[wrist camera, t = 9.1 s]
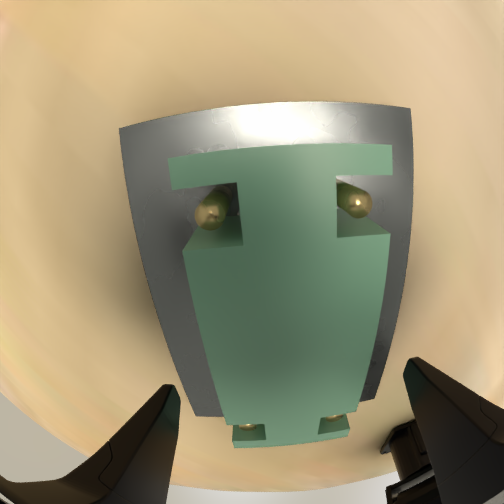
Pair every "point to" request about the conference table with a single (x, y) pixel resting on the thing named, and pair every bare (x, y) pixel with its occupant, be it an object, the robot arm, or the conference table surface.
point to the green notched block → (287, 287)
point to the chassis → (227, 204)
